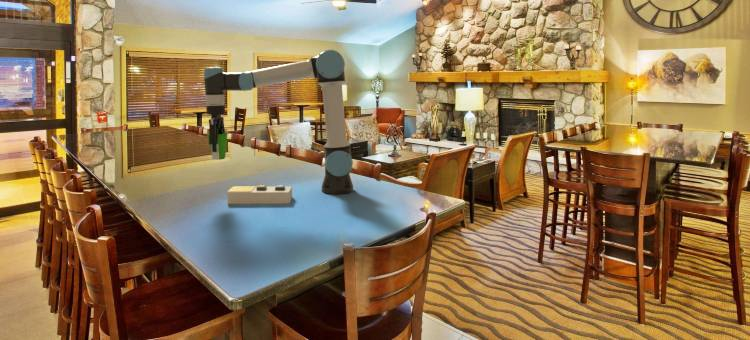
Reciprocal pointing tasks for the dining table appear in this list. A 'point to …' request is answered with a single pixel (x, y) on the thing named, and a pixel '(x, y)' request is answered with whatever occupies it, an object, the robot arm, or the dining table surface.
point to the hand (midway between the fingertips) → (219, 157)
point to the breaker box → (258, 195)
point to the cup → (220, 144)
